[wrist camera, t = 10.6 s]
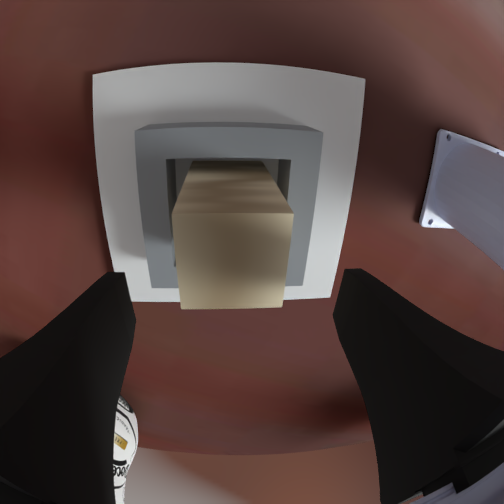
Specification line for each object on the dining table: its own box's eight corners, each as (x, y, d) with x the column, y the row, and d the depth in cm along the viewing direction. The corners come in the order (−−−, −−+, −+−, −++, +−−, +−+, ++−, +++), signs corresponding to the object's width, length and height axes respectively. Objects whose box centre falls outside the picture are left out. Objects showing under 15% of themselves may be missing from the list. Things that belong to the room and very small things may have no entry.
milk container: (159, 384, 28) (149, 546, 12) (127, 435, 34) (118, 540, 19) (13, 320, 22) (-51, 464, 6) (22, 391, 29) (-7, 492, 13)
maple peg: (262, 161, 17) (293, 213, 10) (258, 223, 19) (281, 306, 12) (192, 160, 16) (171, 213, 9) (194, 223, 18) (181, 309, 11)
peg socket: (358, 79, 15) (390, 78, 12) (326, 289, 23) (342, 323, 20) (99, 75, 13) (69, 72, 10) (124, 293, 21) (112, 328, 18)
